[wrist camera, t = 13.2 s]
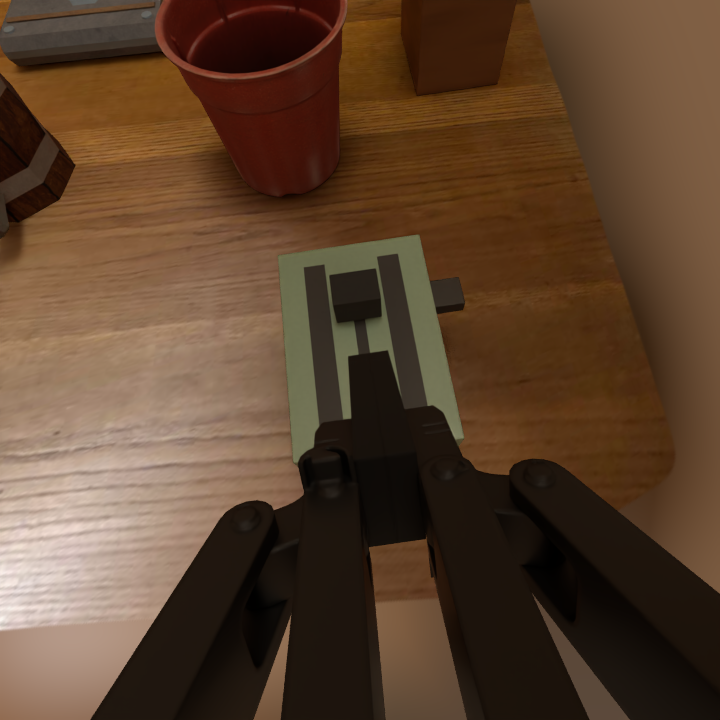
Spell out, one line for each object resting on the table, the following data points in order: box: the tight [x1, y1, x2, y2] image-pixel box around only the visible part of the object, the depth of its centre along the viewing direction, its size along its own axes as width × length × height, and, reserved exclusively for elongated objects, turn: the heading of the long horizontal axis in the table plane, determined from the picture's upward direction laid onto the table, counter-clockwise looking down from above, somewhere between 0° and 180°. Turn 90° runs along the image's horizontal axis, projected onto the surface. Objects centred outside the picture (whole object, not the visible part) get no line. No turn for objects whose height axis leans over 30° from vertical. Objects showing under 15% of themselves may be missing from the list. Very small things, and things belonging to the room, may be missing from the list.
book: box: [0, 0, 163, 66], centre depth 63 cm, size 21×16×5 cm
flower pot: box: [155, 0, 347, 197], centre depth 46 cm, size 16×16×16 cm
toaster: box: [278, 235, 465, 466], centre depth 37 cm, size 16×14×11 cm
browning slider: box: [329, 268, 382, 323], centre depth 31 cm, size 2×3×3 cm
